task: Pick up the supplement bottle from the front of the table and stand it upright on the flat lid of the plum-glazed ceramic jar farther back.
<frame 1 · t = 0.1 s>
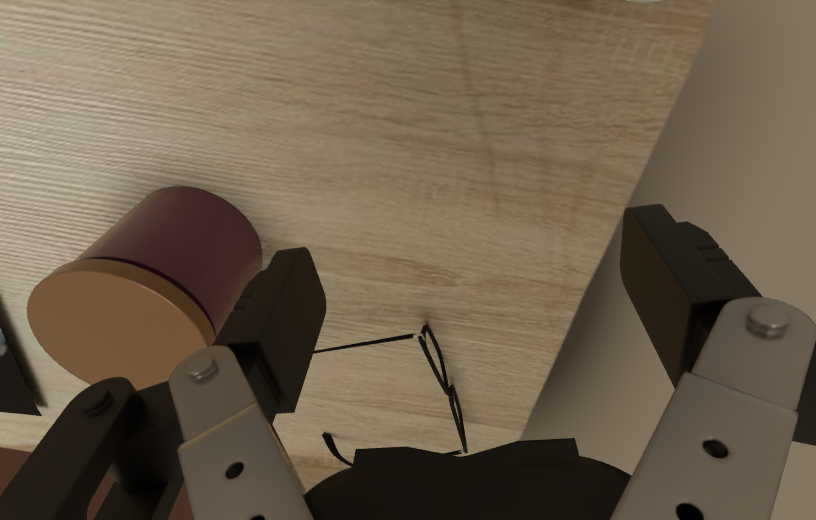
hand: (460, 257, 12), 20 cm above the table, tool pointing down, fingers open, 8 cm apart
jar: (198, 244, 37), on the table
eyeglasses: (372, 380, 45), on the table
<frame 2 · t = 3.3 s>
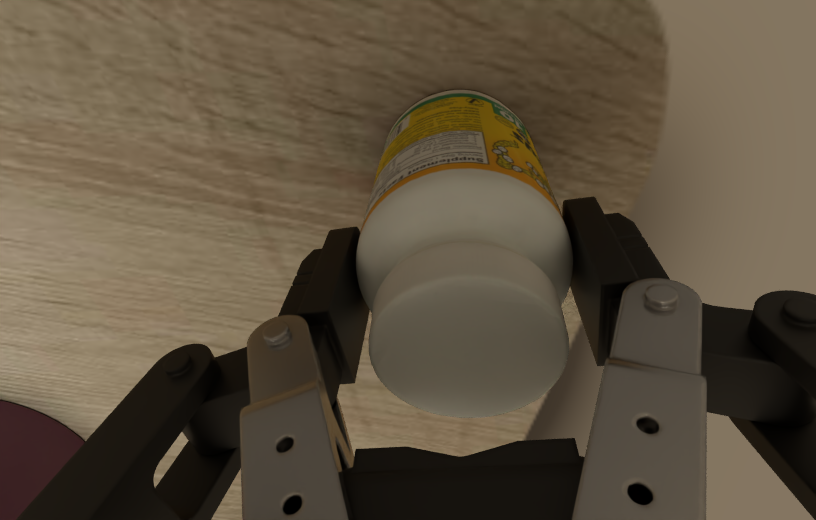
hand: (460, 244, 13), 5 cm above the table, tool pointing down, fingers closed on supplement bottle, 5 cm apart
jar: (19, 448, 30), on the table
supplement bottle: (457, 160, 17), on the table, touching gripper
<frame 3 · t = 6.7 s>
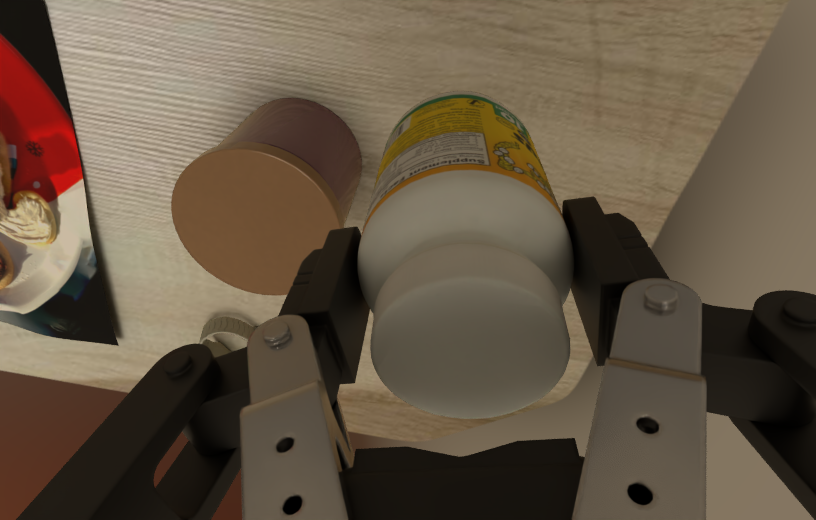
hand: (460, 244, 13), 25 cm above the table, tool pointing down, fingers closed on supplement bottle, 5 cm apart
jar: (300, 160, 38), on the table
supplement bottle: (458, 161, 17), point 19 cm above the table, touching gripper
wristwatch: (247, 339, 51), on the table
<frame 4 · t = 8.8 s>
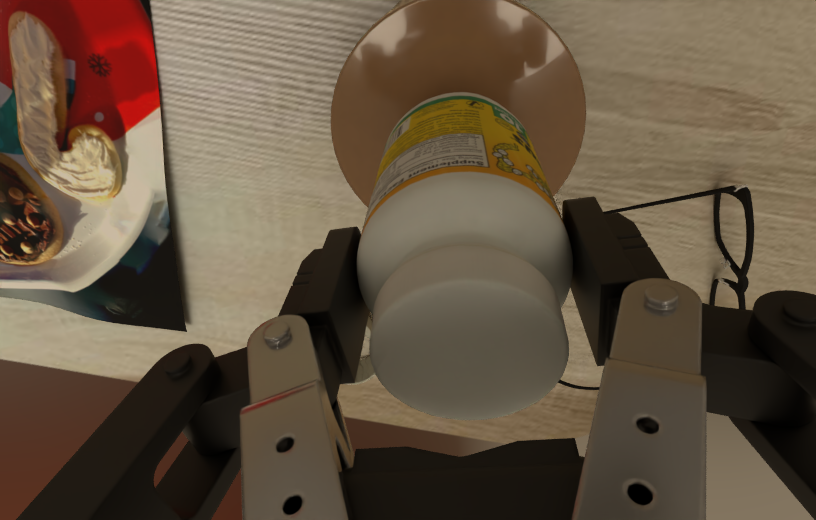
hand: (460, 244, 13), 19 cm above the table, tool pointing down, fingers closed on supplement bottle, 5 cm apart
jar: (453, 72, 29), on the table
eyeglasses: (611, 276, 37), on the table
supplement bottle: (457, 162, 17), point 14 cm above the table, touching gripper
wristwatch: (344, 321, 41), on the table
when the fingers open (16 cm above the table, at t = 10.1 s): supplement bottle stays where it is, resting on jar.
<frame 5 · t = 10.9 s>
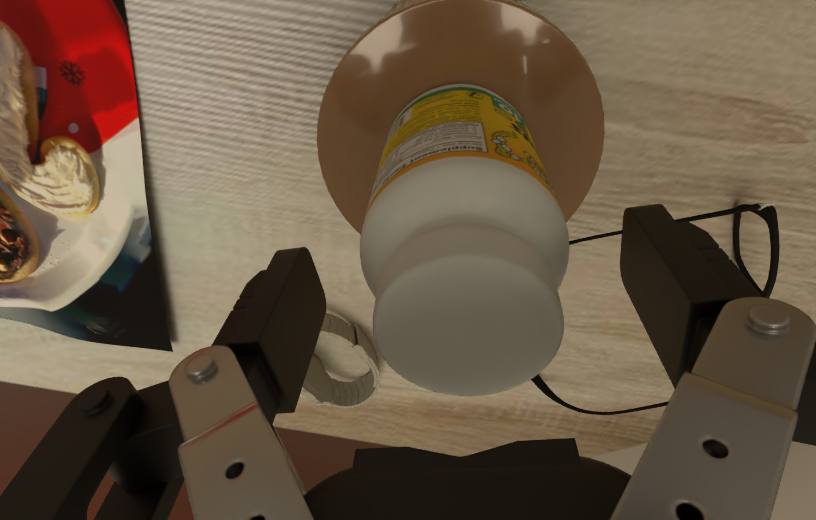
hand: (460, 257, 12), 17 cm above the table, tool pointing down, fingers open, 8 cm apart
jar: (453, 81, 27), on the table, touching supplement bottle
eyeglasses: (621, 295, 35), on the table
supplement bottle: (457, 153, 18), point 11 cm above the table, touching jar
wristwatch: (339, 341, 39), on the table
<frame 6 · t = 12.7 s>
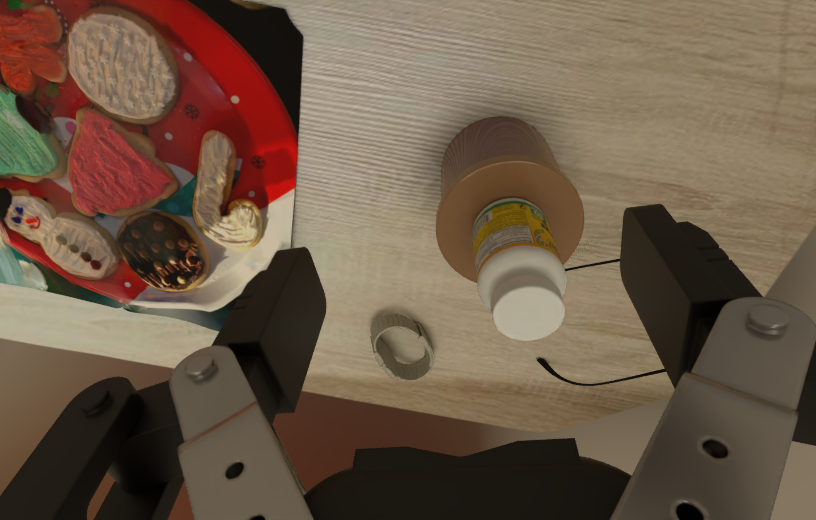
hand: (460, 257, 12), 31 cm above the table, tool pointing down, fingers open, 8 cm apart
jar: (495, 170, 43), on the table, touching supplement bottle
eyeglasses: (601, 303, 51), on the table
supplement bottle: (509, 227, 35), point 11 cm above the table, touching jar
wristwatch: (404, 334, 56), on the table
cookie print placemat: (119, 173, 46), on the table
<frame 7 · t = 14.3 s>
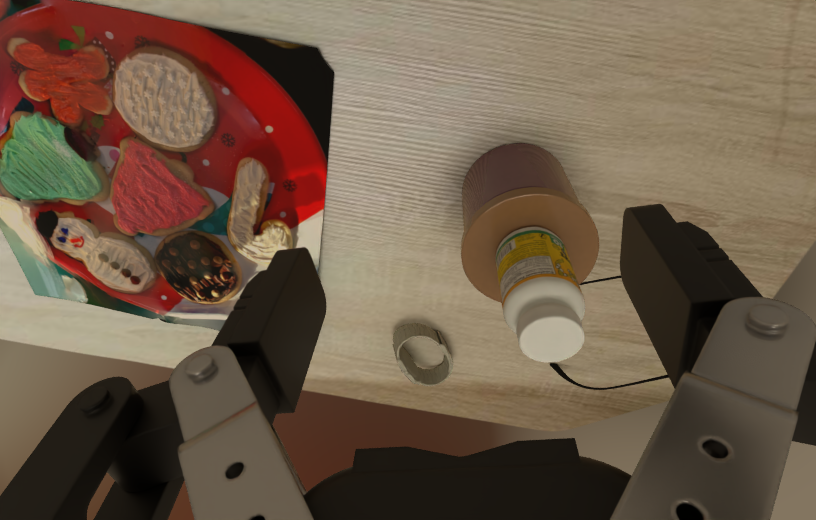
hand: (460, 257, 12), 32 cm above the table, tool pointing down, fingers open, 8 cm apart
jar: (513, 192, 46), on the table, touching supplement bottle
eyeglasses: (611, 312, 54), on the table
supplement bottle: (529, 252, 37), point 11 cm above the table, touching jar
wristwatch: (424, 341, 59), on the table
cookie print placemat: (158, 195, 49), on the table
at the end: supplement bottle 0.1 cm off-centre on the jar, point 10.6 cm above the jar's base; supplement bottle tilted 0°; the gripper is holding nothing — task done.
